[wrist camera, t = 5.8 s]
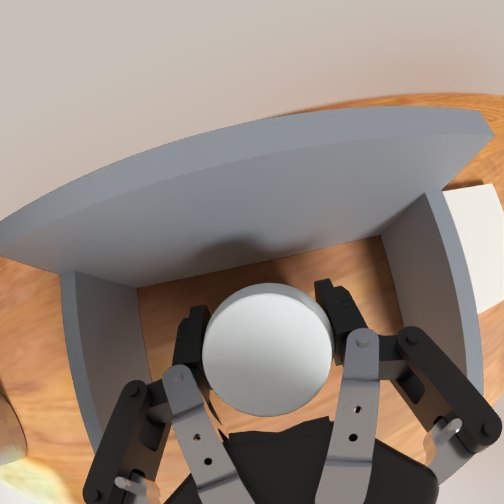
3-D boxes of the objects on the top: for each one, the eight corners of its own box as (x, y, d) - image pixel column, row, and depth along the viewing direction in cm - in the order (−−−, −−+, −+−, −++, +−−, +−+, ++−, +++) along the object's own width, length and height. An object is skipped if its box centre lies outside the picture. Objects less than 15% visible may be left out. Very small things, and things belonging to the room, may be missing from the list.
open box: (151, 431, 16) (44, 502, 4) (121, 275, 19) (-7, 226, 7) (424, 376, 15) (547, 411, 3) (388, 216, 18) (479, 111, 6)
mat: (448, 326, 16) (455, 325, 15) (414, 201, 18) (419, 195, 17) (516, 288, 15) (523, 286, 14) (486, 187, 18) (492, 183, 17)
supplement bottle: (234, 379, 16) (189, 437, 7) (227, 300, 18) (172, 278, 8) (317, 371, 16) (356, 424, 7) (308, 291, 17) (342, 259, 8)
